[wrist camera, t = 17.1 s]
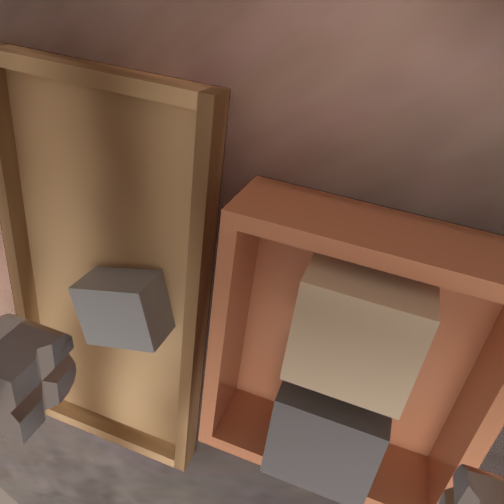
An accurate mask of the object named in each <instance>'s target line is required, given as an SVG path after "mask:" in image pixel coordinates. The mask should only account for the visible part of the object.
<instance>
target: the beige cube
mask: <svg viewBox="0 0 504 504" xmlns="http://www.w3.org/2000/svg"><path fill="white" fill-rule="evenodd" d="M439 324H440V290H439V287H438V286H434V285H430V284H427V283H423V282H420V281H416V280H412V279H409V278H405V277H402V276H398V275H394V274H391V273H387V272H384V271H380V270H376V269H373V268H369V267H366V266H362V265H358V264H355V263H351V262H347V261H344V260H340V259H337V258H333V257H329V256H326V255H322V254H319V253H315V252H314V254H313V256H312V258H311V260H310V262H309V264H308V267H307V269H306V271H305V273H304V275H303V277H302V279H301V281H300V285H299V290H298V295H297V299H296V304H295V309H294V313H293V318H292V323H291V327H290V332H289V337H288V341H287V346H286V351H285V355H284V360H283V365H282V369H281V374H280V379H281V380H284V381H287V382H290V383H293V384H295V385H298V386H301V387H304V388H307V389H310V390H313V391H316V392H319V393H321V394H324V395H327V396H330V397H333V398H336V399H339V400H342V401H345V402H347V403H350V404H353V405H356V406H359V407H362V408H365V409H368V410H370V411H373V412H376V413H379V414H382V415H385V416H388V417H391V418H394V419H396V420H399V419H400V417H401V414H402V412H403V410H404V407H405V405H406V402H407V400H408V398H409V395H410V393H411V391H412V388H413V386H414V383H415V381H416V379H417V376H418V374H419V372H420V369H421V367H422V364H423V362H424V360H425V357H426V355H427V353H428V350H429V348H430V345H431V343H432V341H433V338H434V336H435V334H436V331H437V329H438V326H439Z"/></svg>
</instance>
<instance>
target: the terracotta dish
mask: <svg viewBox="0 0 504 504" xmlns="http://www.w3.org/2000/svg"><path fill="white" fill-rule="evenodd" d="M314 252H315V253H319V254H322V255H326V256H329V257H333V258H337V259H340V260H344V261H347V262H351V263H355V264H358V265H362V266H366V267H369V268H373V269H376V270H380V271H384V272H387V273H391V274H394V275H398V276H402V277H405V278H409V279H412V280H416V281H420V282H423V283H427V284H430V285H434V286H438V287H439V290H440V324H439V326H438V329H437V331H436V334H435V336H434V338H433V341H432V343H431V345H430V348H429V350H428V353H427V355H426V357H425V360H424V362H423V364H422V367H421V369H420V372H419V374H418V376H417V379H416V381H415V383H414V386H413V388H412V391H411V393H410V395H409V398H408V400H407V402H406V405H405V407H404V410H403V412H402V414H401V417H400V419H399V420H396V419H394V418H392V425H391V435H390V442H389V445H388V447H387V449H386V452H385V454H384V457H383V459H382V462H381V464H380V466H379V469H378V471H377V474H376V476H375V478H374V481H373V483H372V486H371V488H370V490H369V493H368V495H367V498H366V500H365V503H364V504H438V502H439V500H440V498H441V496H442V494H443V492H444V490H445V489H448V488H451V487H453V474H454V472H455V471H456V469H457V467H458V466H460V465H461V464H465V465H468V466H471V467H474V468H477V469H478V468H479V466H480V465H481V463H482V461H483V460H484V458H485V456H486V454H487V453H488V451H489V449H490V448H491V446H492V444H493V443H494V441H495V439H496V438H497V436H498V434H499V433H500V431H501V429H502V428H503V426H504V236H502V235H498V234H494V233H490V232H486V231H482V230H477V229H473V228H469V227H465V226H461V225H457V224H453V223H449V222H445V221H441V220H437V219H433V218H429V217H425V216H420V215H416V214H412V213H408V212H404V211H400V210H396V209H392V208H388V207H384V206H380V205H376V204H372V203H368V202H363V201H359V200H355V199H351V198H347V197H343V196H339V195H335V194H331V193H327V192H323V191H319V190H315V189H311V188H306V187H302V186H298V185H294V184H290V183H286V182H282V181H278V180H274V179H270V178H266V177H262V176H258V175H257V176H256V177H255V178H254V179H252V180H251V181H250V182H249V183H248V184H247V185H246V186H245V187H244V188H243V189H242V190H241V191H240V192H239V193H238V194H237V195H236V196H235V197H234V198H233V199H232V200H231V201H230V202H229V203H227V204H226V205H225V206H224V207H223V208H222V209H221V219H220V229H219V239H218V249H217V258H216V268H215V278H214V288H213V298H212V308H211V318H210V328H209V338H208V348H207V358H206V368H205V378H204V388H203V398H202V407H201V417H200V427H199V437H198V441H200V442H203V443H205V444H208V445H210V446H213V447H215V448H218V449H220V450H223V451H225V452H228V453H230V454H233V455H236V456H238V457H241V458H243V459H246V460H248V461H251V462H253V463H256V464H258V465H261V463H262V459H263V454H264V449H265V444H266V440H267V435H268V430H269V425H270V420H271V416H272V411H273V406H274V401H275V398H276V396H277V393H278V391H279V388H280V386H281V384H282V381H283V380H281V379H280V374H281V369H282V365H283V360H284V355H285V351H286V346H287V341H288V337H289V332H290V327H291V323H292V318H293V313H294V309H295V304H296V299H297V295H298V290H299V285H300V281H301V279H302V277H303V275H304V273H305V271H306V269H307V267H308V264H309V262H310V260H311V258H312V256H313V254H314Z"/></svg>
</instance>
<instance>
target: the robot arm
mask: <svg viewBox="0 0 504 504" xmlns="http://www.w3.org/2000/svg"><path fill="white" fill-rule="evenodd" d="M73 348H74V344H73V338H72V336H71V335H69V334H66V333H64V332H61V331H58V330H55V329H53V328H50V327H47V326H44V325H42V324H39V323H36V322H33V321H31V320H27V319H24V318H21V317H19V316H16V315H13V314H6V315H3V316H1V317H0V437H3V438H6V439H8V440H11V441H14V442H17V443H20V444H22V445H24V444H25V443H26V442H27V441H28V439H29V438H30V437H31V436H32V435H33V434H34V433H35V432H36V430H37V429H38V428H39V427H40V426H41V425H42V424H43V423H44V421H45V420H46V410H47V409H49V408H52V407H54V406H56V405H59V404H60V403H61V402H62V401H63V399H64V398H65V397H66V396H67V395H68V393H69V391H70V389H71V387H72V385H73V383H74V381H75V376H76V363H75V361H74V360H73V359H72V357H71V356H70V354H69V353H70V352H71V351H72V349H73ZM438 504H504V477H503V476H499V475H496V474H493V473H490V472H487V471H484V470H481V469H477V468H474V467H471V466H468V465H465V464H461V465H460V466H458V467H457V469H456V471H455V472H454V474H453V487H451V488H448V489H445V490H444V492H443V494H442V496H441V498H440V500H439V502H438Z"/></svg>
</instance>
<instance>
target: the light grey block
mask: <svg viewBox="0 0 504 504" xmlns="http://www.w3.org/2000/svg"><path fill="white" fill-rule="evenodd" d="M68 290H69V293H70V296H71V299H72V302H73V305H74V308H75V311H76V314H77V316H78V319H79V322H80V325H81V328H82V331H83V334H84V337H85V340H86V343H87V344H89V345H97V346H105V347H112V348H120V349H128V350H135V351H143V352H151V353H155V352H156V350H157V349H158V348H159V347H160V345H161V344H162V343H163V342H164V340H165V339H166V338H167V337H168V335H169V334H170V333H171V332H172V330H173V329H174V328H175V327H176V325H175V321H174V317H173V312H172V308H171V304H170V299H169V295H168V291H167V287H166V282H165V278H164V274H163V270H149V269H132V268H115V267H98V266H96V267H94V268H93V269H92V270H91V271H89V272H88V273H87V274H85V275H84V276H83V277H82V278H80V279H79V280H78V281H76V282H75V283H74V284H72V285H71V286H70V287H69V288H68Z"/></svg>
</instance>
